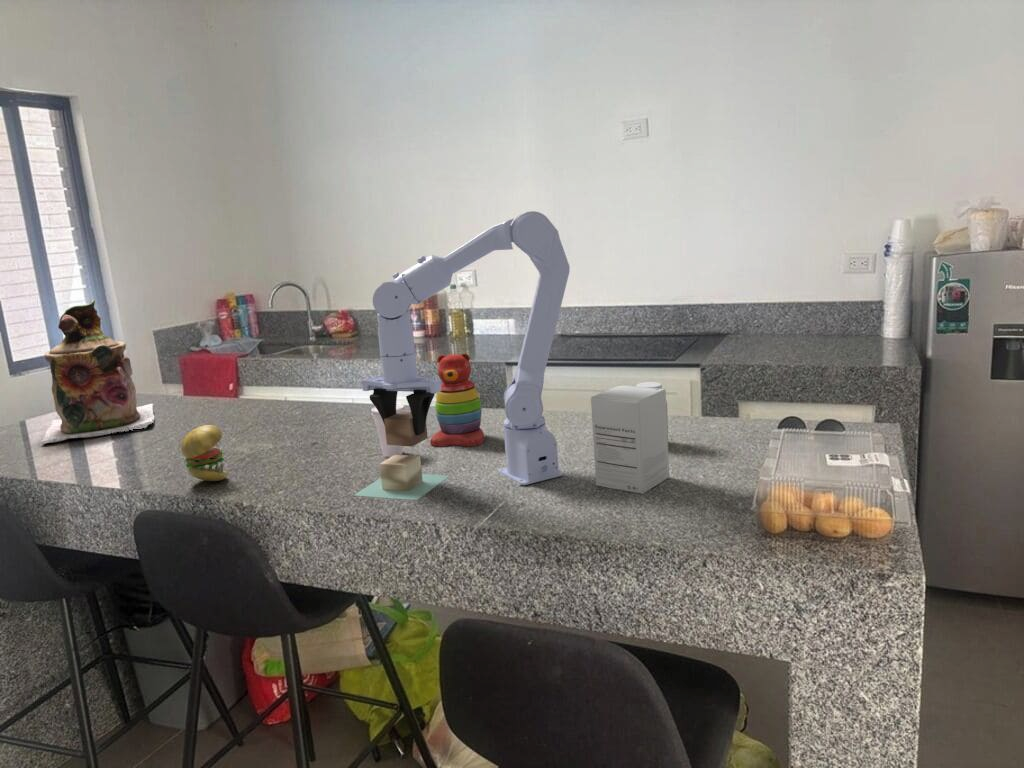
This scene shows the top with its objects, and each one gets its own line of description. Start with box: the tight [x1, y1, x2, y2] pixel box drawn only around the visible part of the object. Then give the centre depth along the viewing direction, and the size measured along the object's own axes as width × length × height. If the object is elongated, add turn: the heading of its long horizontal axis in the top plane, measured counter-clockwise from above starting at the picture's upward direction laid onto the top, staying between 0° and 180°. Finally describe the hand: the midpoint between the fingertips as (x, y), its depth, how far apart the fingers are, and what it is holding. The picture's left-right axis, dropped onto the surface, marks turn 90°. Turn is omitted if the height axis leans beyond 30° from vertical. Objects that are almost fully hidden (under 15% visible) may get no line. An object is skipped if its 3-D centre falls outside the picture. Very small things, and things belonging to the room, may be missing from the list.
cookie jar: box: [40, 299, 155, 446], centre depth 187 cm, size 25×25×32 cm
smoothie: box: [370, 403, 406, 458], centre depth 145 cm, size 6×6×14 cm
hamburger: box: [180, 421, 228, 482], centre depth 137 cm, size 8×7×12 cm
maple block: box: [379, 454, 423, 491], centre depth 127 cm, size 5×5×4 cm
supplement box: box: [590, 385, 670, 495], centre depth 120 cm, size 9×9×15 cm
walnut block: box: [384, 411, 429, 447], centre depth 128 cm, size 5×5×4 cm
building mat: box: [352, 473, 450, 501], centre depth 128 cm, size 12×12×1 cm
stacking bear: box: [429, 353, 485, 447], centre depth 152 cm, size 11×10×18 cm
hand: (405, 432), depth 128 cm, fingers closed on walnut block, 5 cm apart
